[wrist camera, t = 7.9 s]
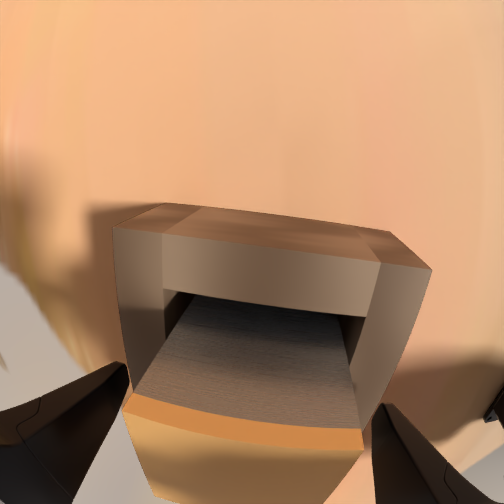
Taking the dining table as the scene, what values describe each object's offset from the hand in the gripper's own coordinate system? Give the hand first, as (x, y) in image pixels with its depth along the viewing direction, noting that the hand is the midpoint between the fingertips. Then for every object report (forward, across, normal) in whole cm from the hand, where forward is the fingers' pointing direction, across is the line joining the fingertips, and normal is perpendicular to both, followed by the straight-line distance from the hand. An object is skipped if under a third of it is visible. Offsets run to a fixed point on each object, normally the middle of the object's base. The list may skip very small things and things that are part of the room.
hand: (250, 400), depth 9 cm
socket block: (+6, 0, 0) cm, 6 cm away
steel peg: (+6, 0, 0) cm, 6 cm away
